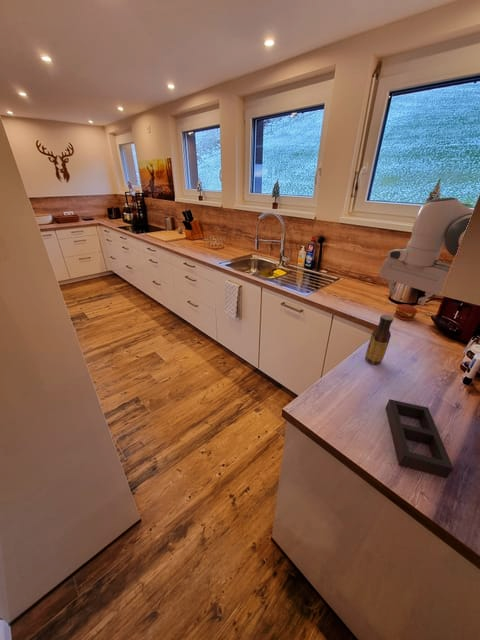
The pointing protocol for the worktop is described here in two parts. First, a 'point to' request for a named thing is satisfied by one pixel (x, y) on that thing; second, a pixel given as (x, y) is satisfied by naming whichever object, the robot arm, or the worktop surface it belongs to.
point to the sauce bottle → (379, 341)
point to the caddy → (417, 439)
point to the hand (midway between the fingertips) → (405, 298)
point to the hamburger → (405, 312)
